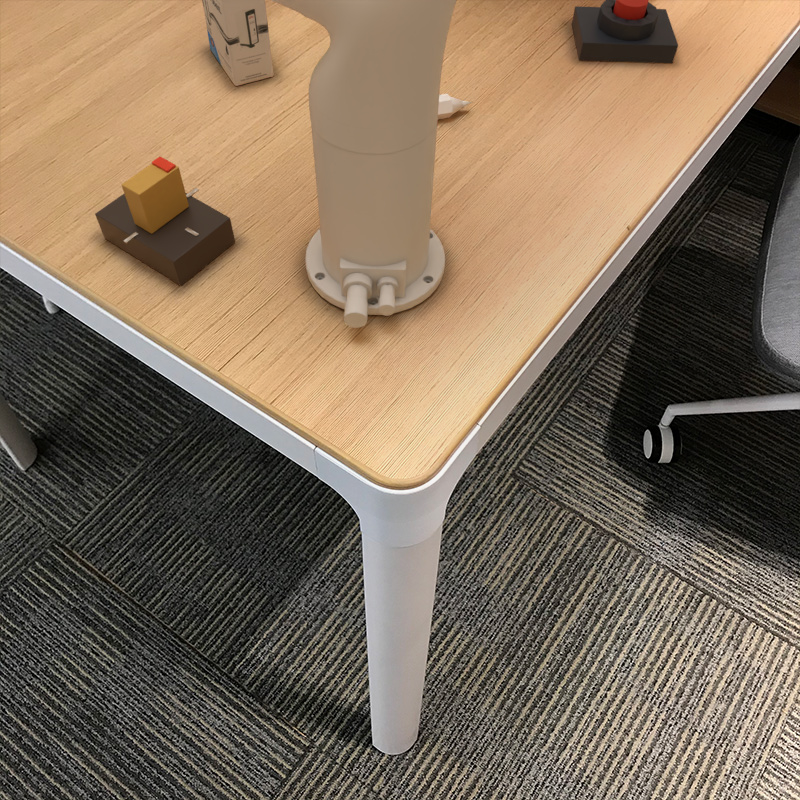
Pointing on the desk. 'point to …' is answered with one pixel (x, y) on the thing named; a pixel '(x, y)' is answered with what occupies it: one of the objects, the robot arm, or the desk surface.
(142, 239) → the plate
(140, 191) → the lock knob
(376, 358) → the desk surface
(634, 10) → the bell button
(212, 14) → the ink box
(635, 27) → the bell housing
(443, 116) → the marker
